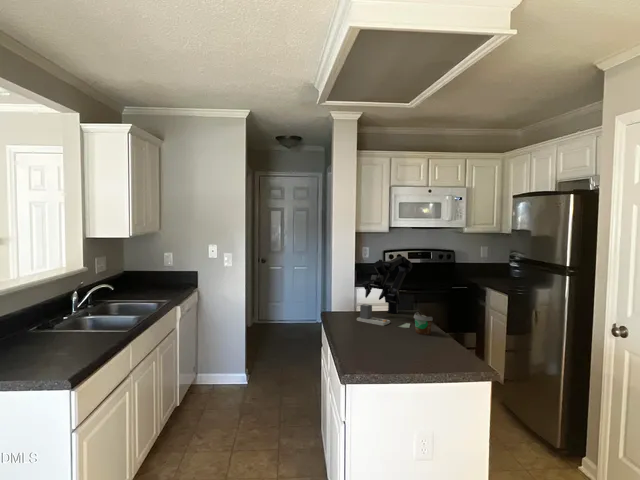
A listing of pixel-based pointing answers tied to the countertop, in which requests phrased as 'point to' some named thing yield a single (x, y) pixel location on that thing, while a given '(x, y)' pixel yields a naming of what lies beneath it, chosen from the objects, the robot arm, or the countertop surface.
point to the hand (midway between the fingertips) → (372, 298)
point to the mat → (404, 325)
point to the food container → (423, 324)
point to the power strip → (374, 321)
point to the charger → (365, 311)
